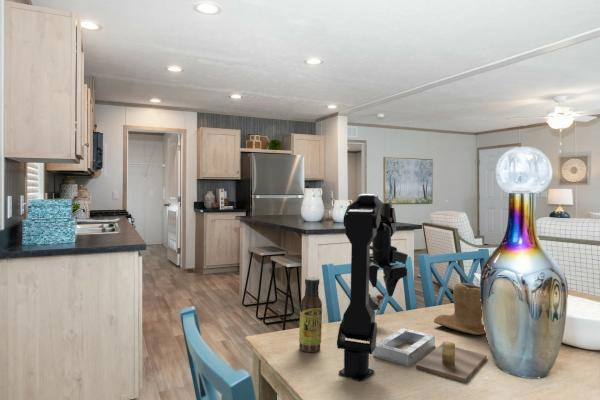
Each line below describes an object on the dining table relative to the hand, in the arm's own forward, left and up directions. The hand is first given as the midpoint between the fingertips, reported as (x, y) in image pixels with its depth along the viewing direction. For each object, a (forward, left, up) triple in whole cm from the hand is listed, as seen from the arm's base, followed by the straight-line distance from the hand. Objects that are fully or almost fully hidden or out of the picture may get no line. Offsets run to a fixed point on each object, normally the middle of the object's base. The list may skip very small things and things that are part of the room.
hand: (382, 291), depth 127 cm
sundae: (0, +12, -11) cm, 16 cm away
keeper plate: (-9, -25, -13) cm, 30 cm away
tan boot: (+20, -19, -13) cm, 30 cm away
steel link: (-9, -12, -13) cm, 20 cm away
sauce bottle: (-25, +9, -13) cm, 30 cm away
